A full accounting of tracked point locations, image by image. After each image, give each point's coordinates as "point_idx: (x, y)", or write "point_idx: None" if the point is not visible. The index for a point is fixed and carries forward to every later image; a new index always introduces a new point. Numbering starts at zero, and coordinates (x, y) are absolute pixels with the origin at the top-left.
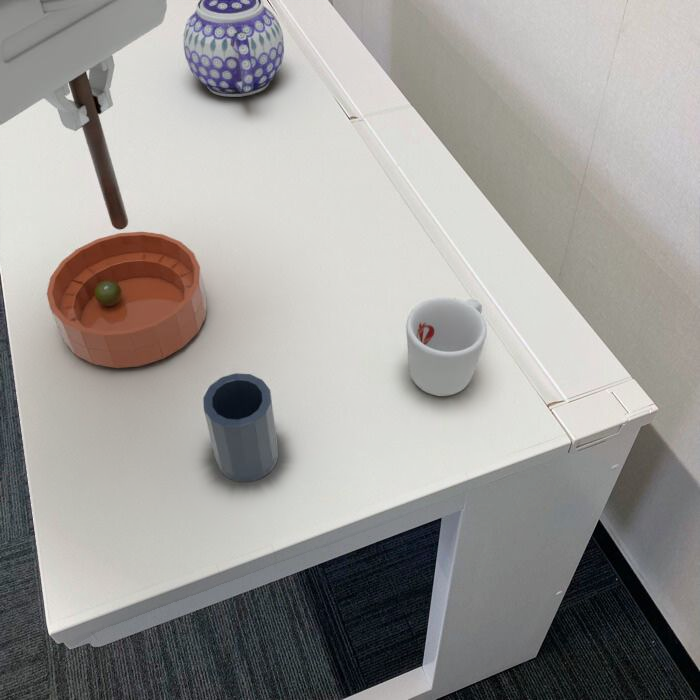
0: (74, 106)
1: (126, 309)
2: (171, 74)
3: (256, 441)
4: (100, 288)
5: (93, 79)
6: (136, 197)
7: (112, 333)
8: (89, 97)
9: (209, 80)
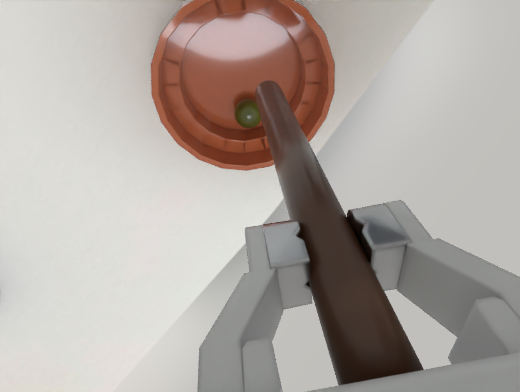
0: (427, 254)
1: (243, 87)
2: (4, 314)
3: None
4: (256, 117)
5: (271, 324)
6: (132, 209)
7: (318, 27)
8: (348, 266)
9: None
